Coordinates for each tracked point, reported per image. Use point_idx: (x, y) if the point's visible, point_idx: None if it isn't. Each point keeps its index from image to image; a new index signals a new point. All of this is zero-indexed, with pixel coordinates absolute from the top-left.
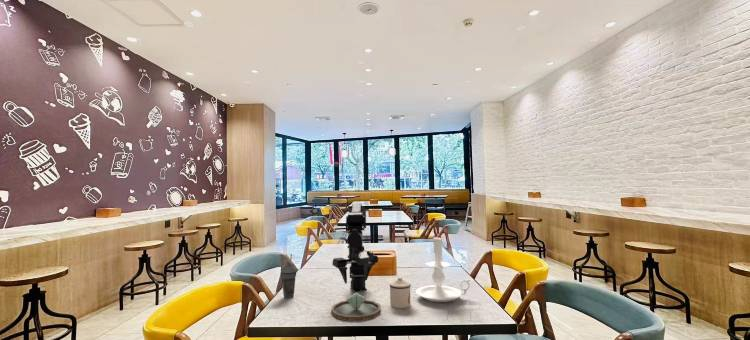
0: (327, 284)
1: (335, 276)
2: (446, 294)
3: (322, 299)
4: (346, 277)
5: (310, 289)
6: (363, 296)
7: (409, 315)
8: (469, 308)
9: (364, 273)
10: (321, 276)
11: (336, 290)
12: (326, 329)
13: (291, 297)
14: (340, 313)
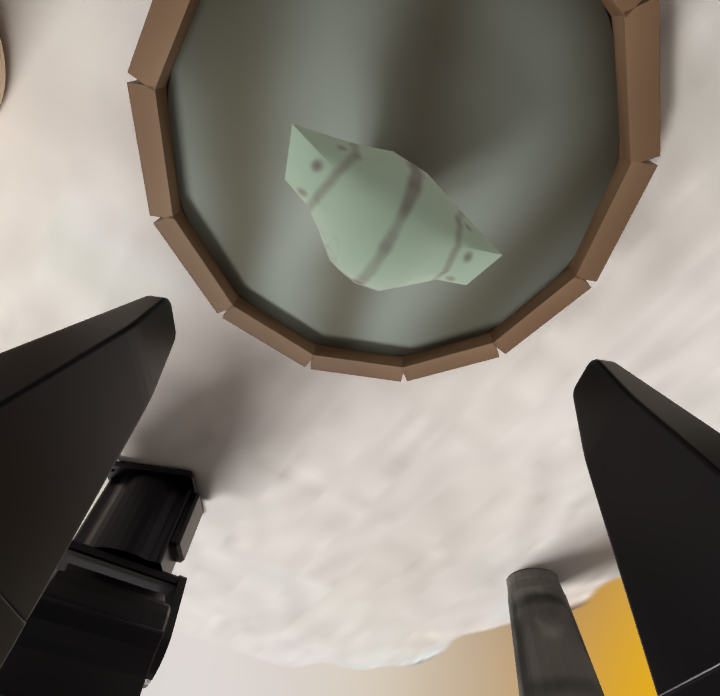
0: (278, 596)
1: (196, 631)
2: None
3: (427, 488)
4: (687, 438)
5: (385, 592)
6: (303, 181)
7: None
8: None
9: (118, 441)
10: (253, 651)
11: (280, 534)
12: None
13: (534, 571)
14: (556, 201)
